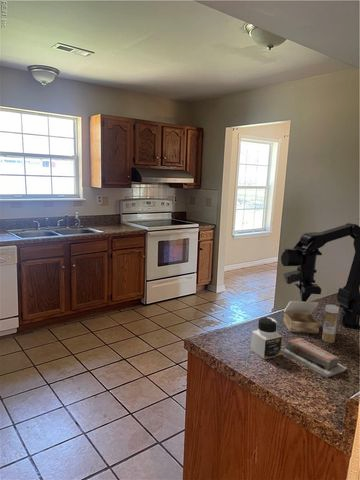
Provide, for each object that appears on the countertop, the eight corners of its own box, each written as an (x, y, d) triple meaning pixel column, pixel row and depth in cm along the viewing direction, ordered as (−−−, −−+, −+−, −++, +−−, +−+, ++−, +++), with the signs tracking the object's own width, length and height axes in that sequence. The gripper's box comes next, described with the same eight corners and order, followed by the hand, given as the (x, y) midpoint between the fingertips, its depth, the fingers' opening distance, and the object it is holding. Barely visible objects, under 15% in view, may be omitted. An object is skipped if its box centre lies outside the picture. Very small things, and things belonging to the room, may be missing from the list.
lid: (310, 313, 144) (310, 312, 144) (319, 303, 135) (318, 302, 135) (283, 312, 144) (283, 310, 144) (290, 302, 135) (290, 300, 136)
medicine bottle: (264, 359, 113) (267, 325, 110) (250, 350, 119) (252, 317, 117) (280, 355, 116) (283, 321, 114) (266, 346, 122) (268, 314, 120)
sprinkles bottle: (319, 340, 128) (323, 306, 126) (323, 336, 132) (327, 303, 129) (332, 344, 125) (337, 309, 123) (336, 340, 129) (340, 306, 126)
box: (309, 322, 144) (310, 313, 144) (318, 333, 134) (319, 323, 134) (283, 321, 145) (284, 312, 144) (290, 331, 135) (291, 322, 134)
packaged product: (282, 340, 118) (301, 334, 123) (281, 353, 118) (300, 347, 124) (328, 364, 102) (348, 357, 108) (326, 379, 103) (346, 371, 108)
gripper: (280, 258, 144) (277, 294, 147) (293, 271, 125) (288, 311, 128) (307, 260, 143) (303, 295, 146) (324, 272, 125) (319, 313, 128)
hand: (302, 303), depth 137 cm, fingers closed, pressing on lid
